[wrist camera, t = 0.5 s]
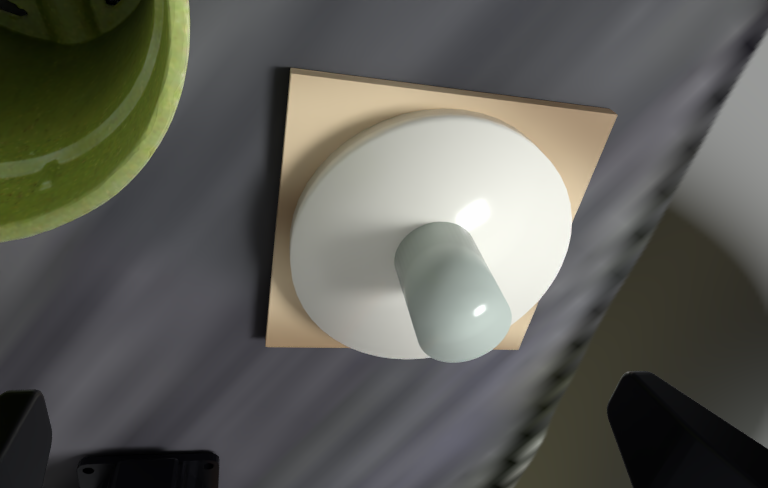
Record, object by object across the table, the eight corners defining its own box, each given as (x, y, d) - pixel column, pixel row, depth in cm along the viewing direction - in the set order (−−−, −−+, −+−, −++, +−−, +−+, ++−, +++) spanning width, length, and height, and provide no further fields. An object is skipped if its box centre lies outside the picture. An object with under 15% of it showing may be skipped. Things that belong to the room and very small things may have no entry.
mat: (513, 341, 28) (518, 349, 27) (265, 337, 25) (265, 347, 25) (609, 109, 21) (617, 114, 21) (290, 67, 19) (291, 73, 18)
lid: (511, 341, 27) (557, 432, 23) (278, 338, 24) (280, 439, 20) (600, 125, 21) (683, 194, 17) (305, 90, 18) (317, 160, 14)
